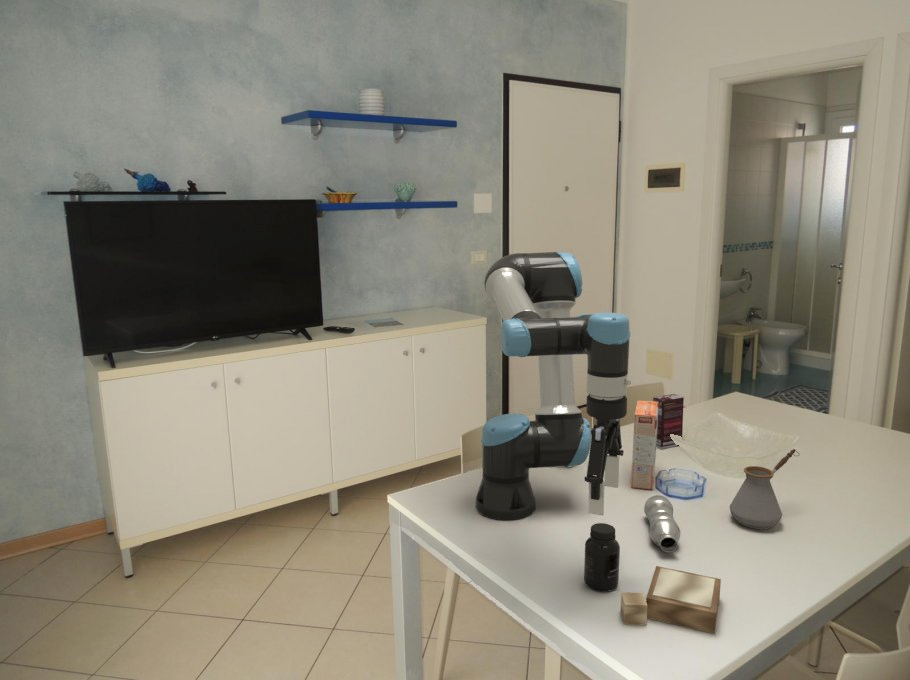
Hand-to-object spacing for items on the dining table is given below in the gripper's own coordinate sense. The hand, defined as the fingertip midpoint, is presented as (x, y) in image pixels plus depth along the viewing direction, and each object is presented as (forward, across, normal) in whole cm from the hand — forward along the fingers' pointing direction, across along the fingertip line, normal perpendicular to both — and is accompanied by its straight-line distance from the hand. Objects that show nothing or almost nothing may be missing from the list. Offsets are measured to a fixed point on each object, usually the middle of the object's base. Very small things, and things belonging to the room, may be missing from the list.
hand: (604, 499), depth 130 cm
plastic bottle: (+15, +35, -6) cm, 38 cm away
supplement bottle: (+18, 0, 0) cm, 18 cm away
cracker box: (+18, +56, +1) cm, 59 cm away
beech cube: (+18, -9, -8) cm, 22 cm away
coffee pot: (+18, +45, -30) cm, 57 cm away
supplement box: (+18, +86, -1) cm, 88 cm away
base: (+18, -2, -16) cm, 24 cm away
